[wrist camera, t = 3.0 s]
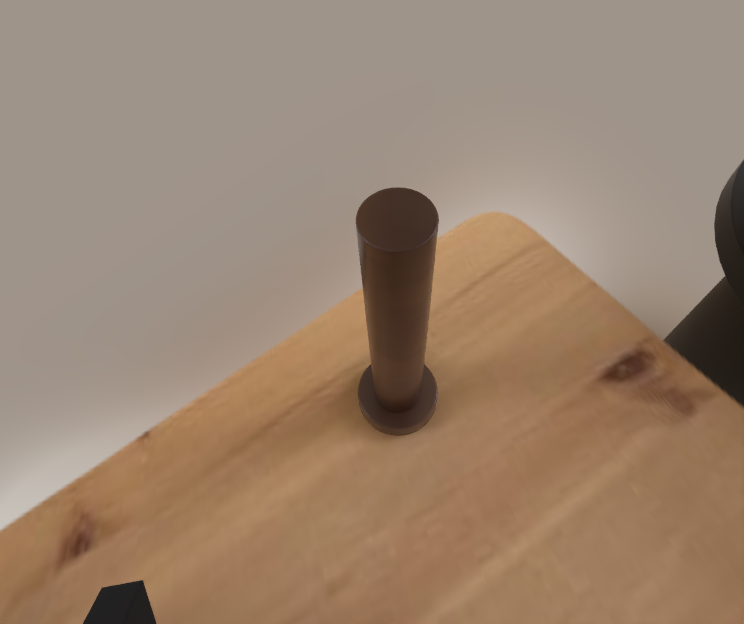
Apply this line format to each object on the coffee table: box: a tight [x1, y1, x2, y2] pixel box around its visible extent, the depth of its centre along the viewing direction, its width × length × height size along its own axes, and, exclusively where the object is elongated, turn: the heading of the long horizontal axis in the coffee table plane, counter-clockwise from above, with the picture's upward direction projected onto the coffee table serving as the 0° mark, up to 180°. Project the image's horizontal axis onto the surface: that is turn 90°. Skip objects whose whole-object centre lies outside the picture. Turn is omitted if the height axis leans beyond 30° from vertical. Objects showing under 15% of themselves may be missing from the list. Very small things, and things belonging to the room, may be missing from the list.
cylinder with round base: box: [356, 188, 439, 435], centre depth 24 cm, size 4×4×16 cm
